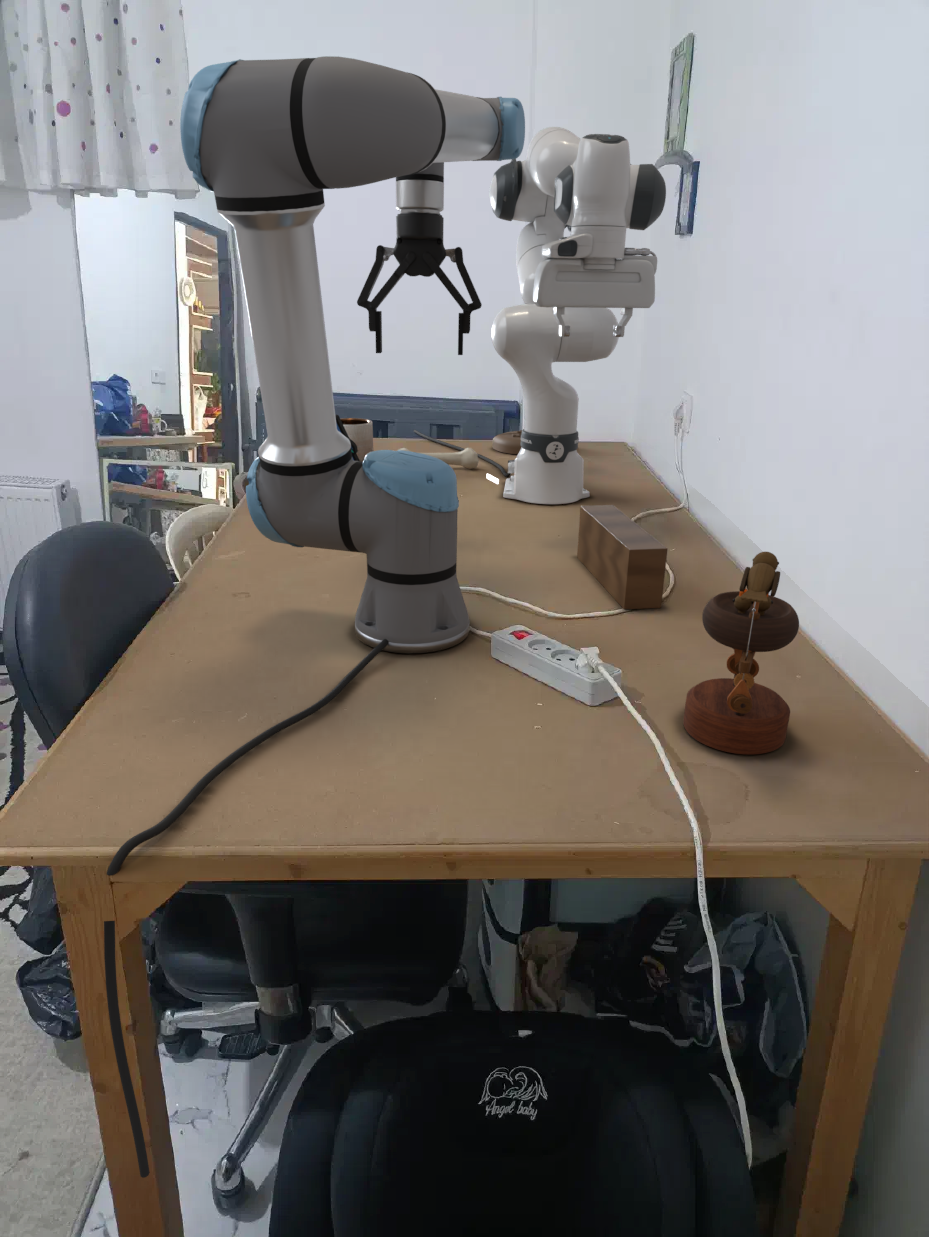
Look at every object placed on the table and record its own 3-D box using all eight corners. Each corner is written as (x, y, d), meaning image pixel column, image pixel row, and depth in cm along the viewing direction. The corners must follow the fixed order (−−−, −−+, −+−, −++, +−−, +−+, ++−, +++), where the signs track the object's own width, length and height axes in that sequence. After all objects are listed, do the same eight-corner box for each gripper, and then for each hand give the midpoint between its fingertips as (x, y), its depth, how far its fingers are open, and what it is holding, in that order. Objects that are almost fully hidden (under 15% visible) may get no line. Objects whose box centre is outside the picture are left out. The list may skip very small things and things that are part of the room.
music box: (807, 766, 83) (825, 574, 75) (692, 766, 84) (698, 577, 77) (772, 695, 97) (784, 526, 89) (674, 696, 98) (678, 530, 91)
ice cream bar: (498, 464, 212) (499, 447, 210) (490, 443, 238) (490, 428, 236) (581, 464, 213) (583, 447, 211) (564, 443, 239) (565, 428, 237)
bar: (661, 607, 123) (667, 548, 119) (623, 609, 122) (629, 549, 118) (608, 556, 145) (613, 504, 141) (576, 557, 144) (580, 505, 140)
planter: (327, 456, 217) (325, 418, 214) (369, 454, 220) (368, 417, 217) (334, 465, 208) (332, 425, 204) (377, 463, 211) (376, 424, 207)
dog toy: (475, 464, 210) (475, 444, 209) (479, 470, 205) (480, 449, 203) (394, 466, 207) (394, 446, 205) (396, 471, 202) (396, 451, 200)
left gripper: (498, 216, 137) (493, 353, 145) (344, 213, 137) (348, 350, 145) (499, 213, 130) (494, 357, 138) (337, 209, 130) (341, 353, 138)
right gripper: (651, 248, 141) (643, 335, 147) (532, 246, 138) (528, 335, 144) (665, 248, 136) (656, 338, 141) (541, 245, 133) (537, 338, 138)
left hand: (419, 354), depth 141 cm, fingers open, 13 cm apart
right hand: (591, 336), depth 142 cm, fingers open, 8 cm apart
